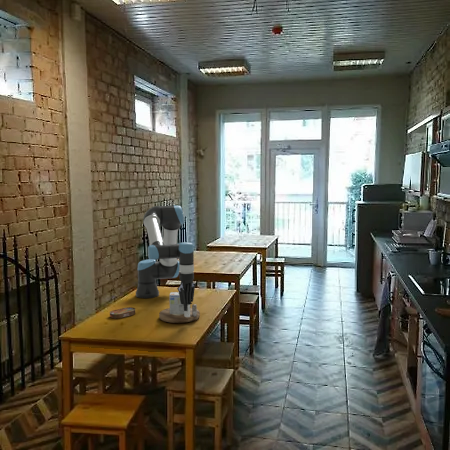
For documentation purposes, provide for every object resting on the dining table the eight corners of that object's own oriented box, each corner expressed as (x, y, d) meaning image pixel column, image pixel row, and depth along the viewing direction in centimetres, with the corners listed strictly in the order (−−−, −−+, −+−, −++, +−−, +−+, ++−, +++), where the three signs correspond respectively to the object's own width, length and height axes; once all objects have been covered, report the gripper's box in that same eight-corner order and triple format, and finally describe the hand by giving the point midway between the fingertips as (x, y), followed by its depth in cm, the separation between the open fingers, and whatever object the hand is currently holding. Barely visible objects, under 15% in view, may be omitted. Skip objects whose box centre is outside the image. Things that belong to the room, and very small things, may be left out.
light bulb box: (189, 310, 253) (189, 291, 252) (189, 314, 247) (188, 294, 245) (170, 310, 253) (170, 291, 252) (169, 314, 246) (169, 294, 245)
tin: (130, 306, 263) (138, 308, 257) (131, 311, 264) (138, 314, 257) (106, 311, 254) (113, 314, 247) (107, 317, 254) (114, 319, 247)
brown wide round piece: (176, 308, 265) (176, 294, 264) (208, 314, 253) (208, 300, 252) (150, 318, 247) (150, 303, 246) (183, 325, 234) (183, 310, 233)
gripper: (188, 269, 243) (189, 312, 246) (172, 273, 233) (173, 318, 235) (199, 270, 239) (200, 314, 242) (184, 275, 229) (185, 320, 231)
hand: (187, 316), depth 239 cm, fingers closed
